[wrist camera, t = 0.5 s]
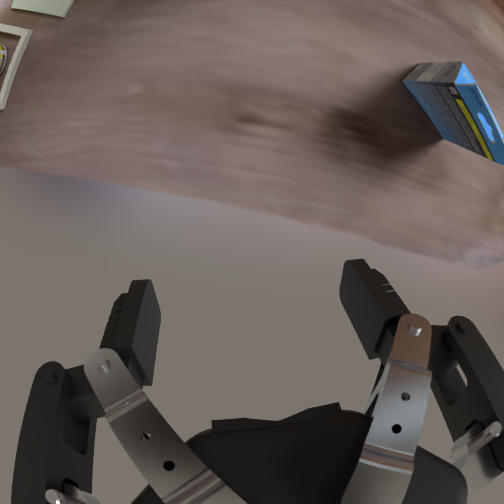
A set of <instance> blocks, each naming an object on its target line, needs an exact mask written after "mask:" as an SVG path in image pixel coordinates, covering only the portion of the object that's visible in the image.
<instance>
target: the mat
mask: <svg viewBox="0 0 504 504" xmlns="http://www.w3.org/2000/svg"><path fill="white" fill-rule="evenodd" d="M74 1H75V0H14V2H13V4H12V6H11V8H15V9H23V10H29V11H35V12H41V13H46V14H51V15H55V16H60V17H64V18H65V16H66V15H67V13H68V11H69V9H70V8H71V6H72V4H73V3H74Z"/></svg>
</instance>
